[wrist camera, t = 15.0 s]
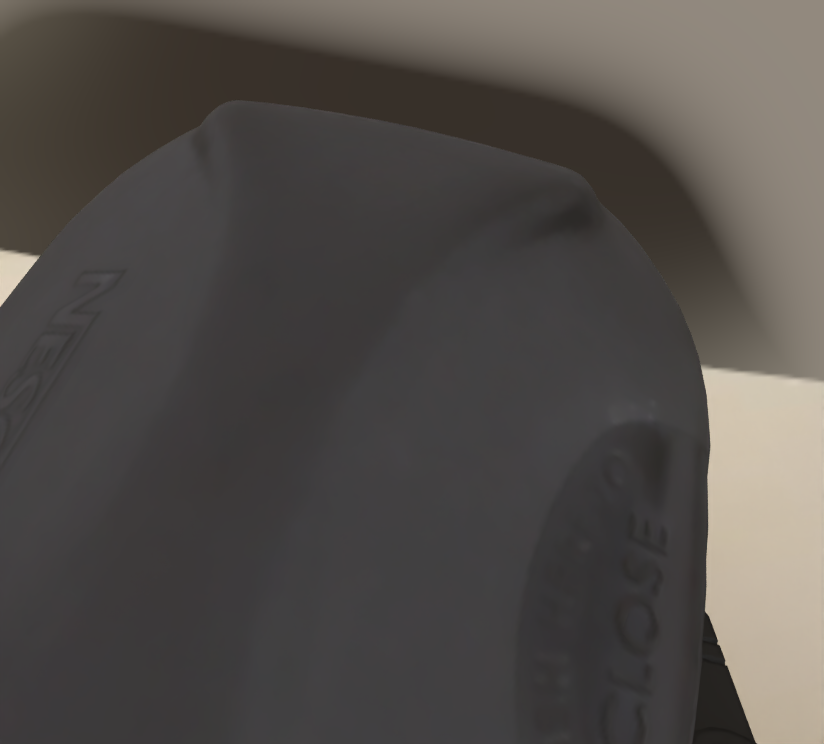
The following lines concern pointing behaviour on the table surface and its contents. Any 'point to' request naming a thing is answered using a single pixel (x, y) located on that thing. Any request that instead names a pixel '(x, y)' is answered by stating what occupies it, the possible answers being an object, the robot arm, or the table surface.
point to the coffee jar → (348, 453)
